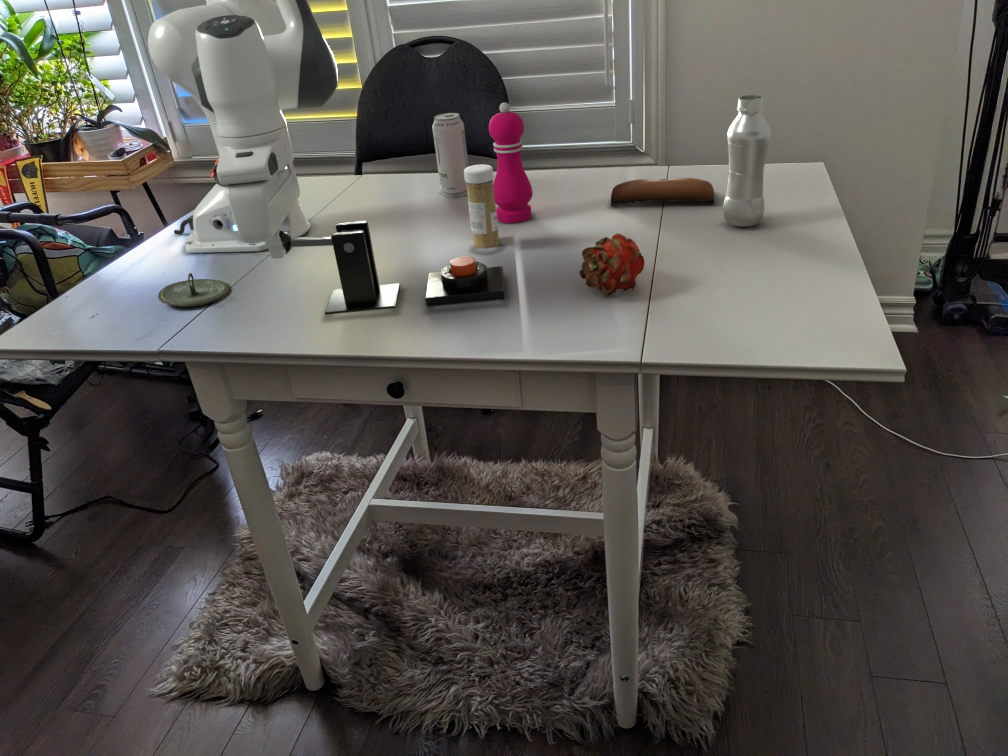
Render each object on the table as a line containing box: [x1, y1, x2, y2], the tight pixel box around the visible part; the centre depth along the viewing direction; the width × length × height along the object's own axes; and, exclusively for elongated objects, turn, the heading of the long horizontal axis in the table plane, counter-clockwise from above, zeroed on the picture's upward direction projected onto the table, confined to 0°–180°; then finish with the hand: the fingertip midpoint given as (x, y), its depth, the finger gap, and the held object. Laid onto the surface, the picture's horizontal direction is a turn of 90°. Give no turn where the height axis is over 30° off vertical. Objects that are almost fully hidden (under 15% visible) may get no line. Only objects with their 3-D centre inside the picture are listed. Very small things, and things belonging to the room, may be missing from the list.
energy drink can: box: [431, 112, 470, 198], centre depth 156 cm, size 6×6×15 cm
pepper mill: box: [488, 102, 534, 224], centre depth 139 cm, size 7×7×20 cm
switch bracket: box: [324, 220, 401, 315], centre depth 114 cm, size 10×8×12 cm
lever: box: [279, 229, 362, 256], centre depth 112 cm, size 13×3×3 cm, turn 91°
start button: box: [449, 255, 476, 276], centre depth 114 cm, size 4×4×2 cm
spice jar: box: [464, 163, 500, 249], centre depth 129 cm, size 5×5×13 cm
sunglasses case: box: [610, 177, 715, 207], centre depth 144 cm, size 18×7×7 cm, turn 79°
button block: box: [424, 261, 505, 308], centre depth 116 cm, size 11×9×4 cm
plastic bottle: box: [722, 94, 772, 228], centre depth 126 cm, size 6×7×20 cm
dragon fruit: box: [578, 233, 645, 296], centre depth 112 cm, size 8×8×12 cm
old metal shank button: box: [157, 272, 231, 307], centre depth 123 cm, size 11×10×5 cm
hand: (282, 250), depth 112 cm, fingers closed on lever, 3 cm apart
